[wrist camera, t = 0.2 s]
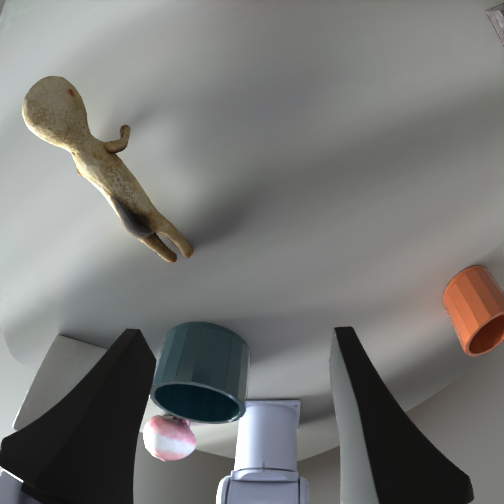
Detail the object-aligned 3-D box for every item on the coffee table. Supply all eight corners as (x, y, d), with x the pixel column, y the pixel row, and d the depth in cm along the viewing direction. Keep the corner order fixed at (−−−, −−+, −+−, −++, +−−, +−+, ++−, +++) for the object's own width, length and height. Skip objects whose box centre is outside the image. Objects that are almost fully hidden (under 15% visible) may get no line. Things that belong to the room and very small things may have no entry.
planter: (85, 314, 26) (10, 487, 10) (141, 360, 29) (95, 524, 13) (38, 348, 32) (-13, 461, 16) (80, 380, 35) (40, 491, 19)
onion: (138, 406, 37) (127, 448, 31) (178, 404, 35) (168, 451, 29) (171, 428, 41) (163, 465, 35) (210, 426, 39) (204, 468, 33)
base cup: (254, 373, 29) (250, 425, 24) (178, 371, 30) (166, 419, 25) (245, 321, 24) (238, 384, 19) (154, 321, 25) (133, 376, 20)
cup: (477, 307, 22) (499, 349, 18) (434, 314, 23) (455, 361, 18) (496, 262, 19) (527, 305, 15) (452, 267, 20) (482, 315, 15)
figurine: (206, 224, 22) (78, 53, 12) (200, 273, 19) (33, 74, 8) (166, 240, 23) (40, 90, 13) (155, 288, 20) (-3, 120, 10)
